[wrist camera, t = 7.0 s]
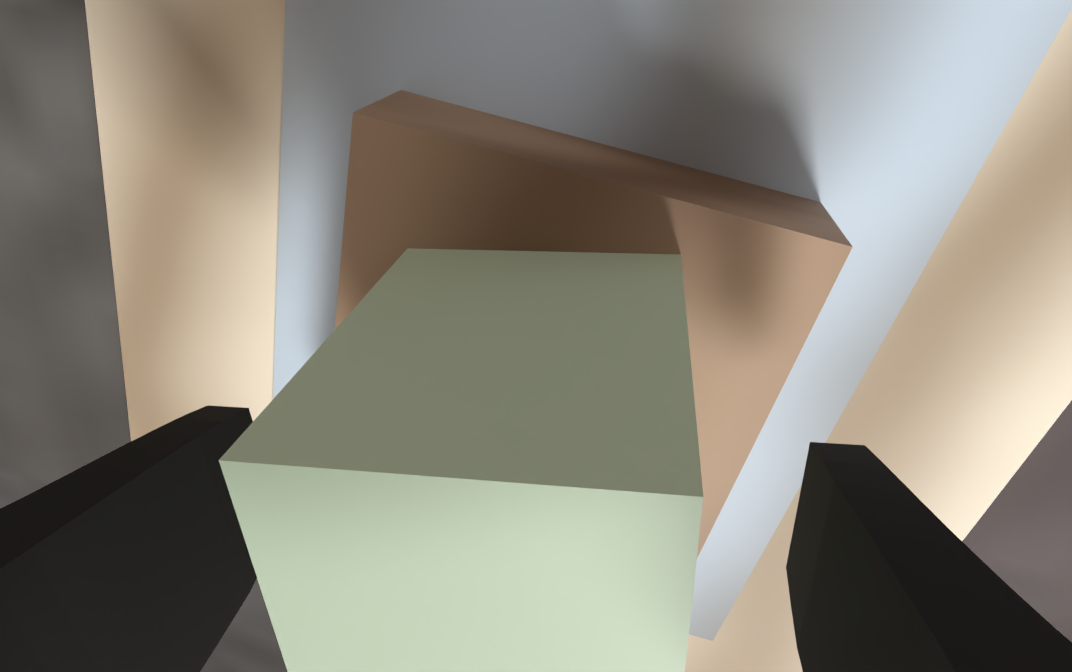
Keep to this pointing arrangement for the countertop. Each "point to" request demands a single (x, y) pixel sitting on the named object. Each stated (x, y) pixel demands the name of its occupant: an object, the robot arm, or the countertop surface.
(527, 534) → the green block
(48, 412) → the countertop surface
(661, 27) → the build board
